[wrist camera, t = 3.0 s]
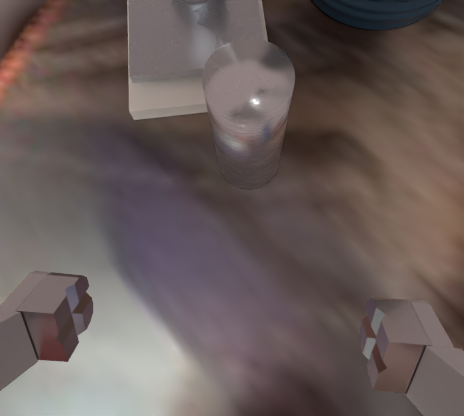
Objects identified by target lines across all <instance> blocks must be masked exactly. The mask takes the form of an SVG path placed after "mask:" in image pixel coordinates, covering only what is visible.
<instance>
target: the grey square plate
mask: <svg viewBox="0 0 464 416" xmlns="http://www.w3.org/2000/svg"><path fill="white" fill-rule="evenodd" d="M128 19H129V77H130V79H131V81H132V83H140V82H149V81H158V80H167V79H176V78H185V77H194V76H202V73H203V69H204V66H205V64H206V62H207V60H208V59H209V57H210V56H211V55H212V54H213V52H215V51H216V50H217V49H218V48H220V47H221V46H223V45H224V44H226V43H229V42H231V41H234V40H238V39H244V38H255V39H261V40H264V39H263V32H262V25H261V18H260V11H259V4H258V0H211V1H209V2H206V3H203V4H198V5H190V4H185V3H182V2H180V1H178V0H128Z"/></svg>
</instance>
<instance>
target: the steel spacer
mask: <svg viewBox="0 0 464 416" xmlns="http://www.w3.org/2000/svg"><path fill="white" fill-rule="evenodd" d="M294 83H295V71H294V67H293V65H292V62H291V60H290V59H289V57H288V56H287V54H286V53H285V52H284V51H283V50H282V49H280V48H279V47H278V46H276V45H274V44H272V43H270V42H268V41H265V40H261V39H255V38H244V39H238V40H234V41H231V42H229V43H226V44H224V45H223V46H221V47H220V48H218V49H217V50H216V51H215V52H213V54H212V55H211V56H210V57H209V59H208V60H207V62H206V64H205V66H204V69H203V73H202V85H203V90H204V95H205V100H206V105H207V109H208V114H209V119H210V124H211V128H212V133H213V138H214V143H215V148H216V152H217V157H218V162H219V167H220V170H221V173H222V175H223V177H224V178H225V179H226V181H227V182H229V183H230V184H231V185H233V186H235V187H237V188H240V189H244V190H253V189H258V188H261V187H263V186H265V185H266V184H268V183H269V182H270V181H271V180H272V179H273V178H274V176H275V174H276V173H277V170H278V166H279V160H280V155H281V150H282V145H283V140H284V135H285V129H286V124H287V119H288V114H289V109H290V104H291V99H292V93H293V88H294Z"/></svg>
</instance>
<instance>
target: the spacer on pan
mask: <svg viewBox="0 0 464 416" xmlns="http://www.w3.org/2000/svg"><path fill="white" fill-rule="evenodd" d="M178 1H180V2H182V3H185V4H190V5H198V4H203V3H206V2H209V1H211V0H178Z"/></svg>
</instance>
